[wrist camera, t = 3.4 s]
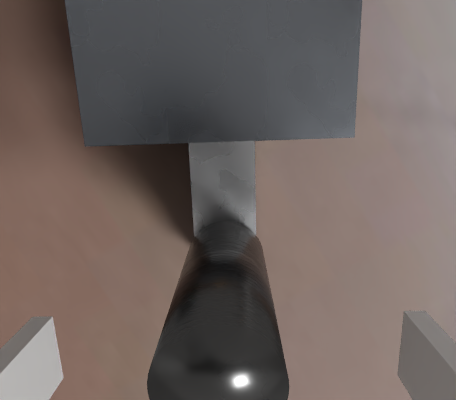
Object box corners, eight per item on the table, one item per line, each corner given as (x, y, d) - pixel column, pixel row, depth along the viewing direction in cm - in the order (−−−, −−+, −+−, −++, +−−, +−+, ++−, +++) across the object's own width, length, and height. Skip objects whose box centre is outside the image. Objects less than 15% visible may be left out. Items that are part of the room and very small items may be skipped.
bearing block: (117, -35, 21) (48, -121, 13) (318, -44, 20) (369, -139, 13) (134, 134, 23) (84, 146, 16) (313, 128, 23) (354, 137, 15)
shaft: (168, -200, 18) (-16, -1059, 5) (253, -205, 18) (306, -1099, 5) (197, 265, 24) (153, 445, 11) (259, 263, 24) (288, 443, 11)
